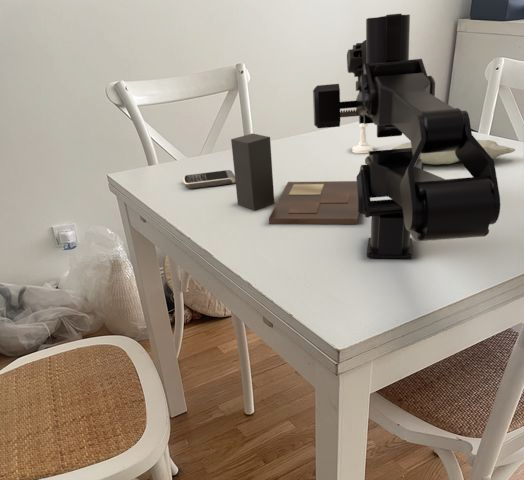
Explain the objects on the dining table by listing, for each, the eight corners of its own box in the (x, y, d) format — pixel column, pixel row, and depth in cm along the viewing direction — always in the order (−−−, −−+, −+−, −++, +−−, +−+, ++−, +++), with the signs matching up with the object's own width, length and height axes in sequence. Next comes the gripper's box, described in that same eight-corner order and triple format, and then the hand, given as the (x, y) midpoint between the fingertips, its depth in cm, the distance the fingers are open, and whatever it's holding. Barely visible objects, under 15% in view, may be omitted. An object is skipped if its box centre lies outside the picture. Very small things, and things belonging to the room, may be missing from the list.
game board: (356, 224, 90) (356, 218, 89) (269, 224, 93) (268, 218, 93) (363, 186, 106) (363, 180, 105) (288, 186, 109) (287, 181, 109)
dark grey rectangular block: (274, 203, 102) (270, 136, 95) (254, 210, 99) (248, 143, 92) (257, 197, 105) (252, 133, 98) (237, 204, 103) (230, 139, 96)
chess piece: (350, 153, 126) (351, 107, 120) (353, 147, 130) (354, 102, 124) (371, 153, 124) (373, 106, 119) (374, 147, 128) (376, 102, 123)
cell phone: (183, 182, 117) (182, 175, 116) (233, 175, 118) (233, 169, 117) (184, 190, 112) (183, 183, 111) (237, 183, 113) (236, 177, 112)
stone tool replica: (390, 166, 110) (522, 163, 104) (391, 139, 108) (526, 134, 103) (390, 164, 123) (506, 161, 118) (391, 140, 122) (510, 136, 116)
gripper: (450, 32, 75) (420, 46, 89) (316, 44, 76) (307, 55, 90) (445, 118, 79) (417, 118, 94) (319, 129, 80) (310, 127, 94)
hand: (363, 103), depth 93 cm, fingers open, 9 cm apart
